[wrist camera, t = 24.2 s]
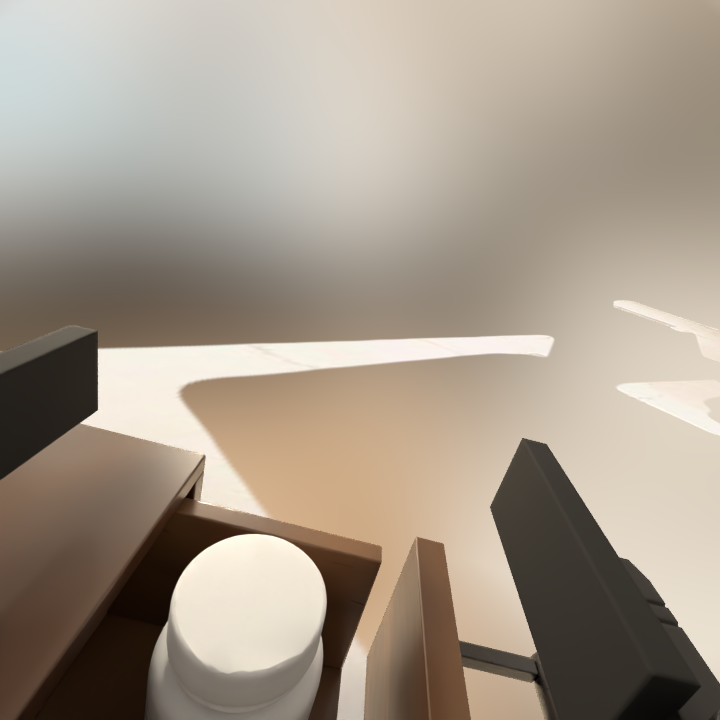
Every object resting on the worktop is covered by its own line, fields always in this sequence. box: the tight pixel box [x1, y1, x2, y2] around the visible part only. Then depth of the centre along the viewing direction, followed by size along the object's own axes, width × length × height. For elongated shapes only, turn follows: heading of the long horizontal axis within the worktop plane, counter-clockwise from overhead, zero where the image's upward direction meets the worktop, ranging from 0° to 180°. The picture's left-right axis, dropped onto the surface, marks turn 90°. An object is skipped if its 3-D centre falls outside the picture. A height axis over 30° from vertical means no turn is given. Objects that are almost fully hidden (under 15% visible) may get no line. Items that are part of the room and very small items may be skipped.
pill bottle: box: [144, 534, 327, 720], centre depth 12 cm, size 5×5×8 cm
